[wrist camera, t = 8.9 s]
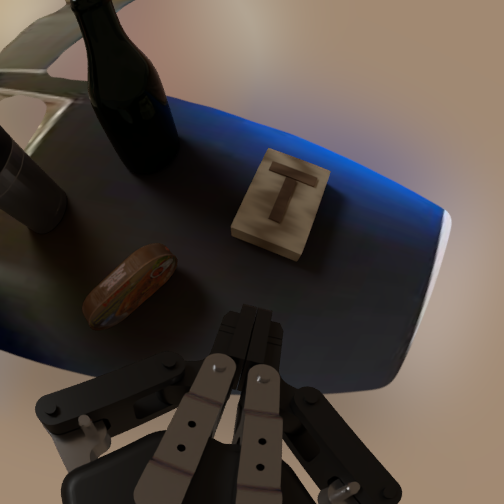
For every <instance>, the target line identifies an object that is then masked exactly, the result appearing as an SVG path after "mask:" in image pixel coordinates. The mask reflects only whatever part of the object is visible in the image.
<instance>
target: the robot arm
mask: <svg viewBox="0 0 504 504" xmlns="http://www.w3.org/2000/svg"><path fill="white" fill-rule="evenodd" d="M66 205H67V198H66V194H65V192H64V191H63V190H62V189H61V188H60V187H59V186H58V185H57V184H56V183H55V182H54V181H53V180H52V179H51V178H50V177H49V176H48V175H47V174H46V173H45V172H44V171H43V170H42V169H41V168H40V167H39V166H38V165H37V164H36V163H35V162H34V161H33V160H32V159H31V158H30V157H29V156H28V154H27V153H26V152H25V151H24V150H23V149H22V148H21V147H20V146H19V145H18V144H17V143H16V142H15V141H14V140H13V139H12V138H11V137H10V135H9V134H8V133H7V132H6V131H5V130H4V129H3V128H2V127H1V126H0V209H1V210H3V211H4V212H6V213H7V214H9V215H10V216H12V217H13V218H15V219H16V220H18V221H19V222H21V223H22V224H24V225H25V226H27V227H28V228H30V229H32V230H33V231H35V232H37V233H42V234H43V233H47V232H49V231H51V230H52V229H53V228H55V227H56V226H57V225H58V223H59V222H60V221H61V219H62V217H63V215H64V213H65V210H66ZM256 310H257V307H254V306H250V305H246V304H243V306H242V309H241V312H240V313H237V312H233V311H230V312H228V313H227V314H226V315H225V316H224V317H223V320H222V323H221V325H220V328H219V331H218V334H217V337H216V339H215V342H214V345H213V348H212V350H211V353H210V354H209V356H208V357H207V358H205V359H203V360H200V361H184V359H183V358H182V357H181V356H180V355H179V354H177V353H174V352H170V351H165V352H161V353H159V354H156V355H154V356H151V357H149V358H146V359H144V360H141V361H139V362H136V363H133V364H131V365H128V366H126V367H123V368H121V369H118V370H115V371H113V372H110V373H107V374H105V375H102V376H99V377H96V378H94V379H91V380H88V381H86V382H83V383H80V384H77V385H74V386H71V387H68V388H65V389H63V390H60V391H57V392H54V393H51V394H48V395H45V396H43V397H41V398H40V399H39V400H38V401H37V403H36V406H35V412H36V415H37V417H38V418H39V420H40V421H41V422H42V424H43V426H44V428H45V429H46V430H47V432H48V433H49V434H50V435H51V437H52V439H53V441H54V443H55V446H56V448H57V450H58V452H59V454H60V457H61V459H62V461H63V463H64V465H65V467H66V469H67V471H68V474H67V475H66V477H65V478H64V480H63V483H62V487H61V497H62V503H63V504H316V503H315V501H314V500H313V499H312V497H311V496H310V494H309V493H308V491H307V490H306V489H305V487H304V486H303V484H302V483H301V481H300V480H299V478H298V477H297V476H296V474H295V472H294V471H293V470H292V468H291V467H290V466H289V465H288V464H286V463H285V462H284V461H283V460H282V458H281V457H282V439H283V440H284V441H285V443H286V444H287V446H288V447H289V448H290V450H291V451H292V453H293V454H294V455H295V457H296V458H297V459H298V461H299V462H300V464H301V465H302V466H303V468H304V469H305V470H306V472H307V473H308V474H309V475H310V477H311V478H312V480H313V481H314V482H315V484H316V485H317V486H318V488H319V489H320V490H321V491H320V493H319V495H318V504H398V502H399V501H400V500H401V497H402V489H401V487H400V485H399V484H398V482H397V481H396V480H395V479H394V478H393V477H392V476H391V474H390V473H389V472H388V471H387V470H386V469H385V468H384V467H383V465H382V464H381V463H380V462H379V461H378V460H377V459H376V457H375V456H374V455H373V454H372V453H371V452H370V450H369V449H368V448H367V447H366V446H365V445H364V443H363V442H362V441H361V440H360V439H359V438H358V436H357V435H356V434H355V433H354V432H353V430H352V429H351V428H350V427H349V426H348V425H347V423H346V422H345V421H344V420H343V418H342V417H341V416H340V415H339V414H338V412H337V411H336V410H335V409H334V408H333V406H332V405H331V404H330V403H329V402H328V400H327V399H326V398H325V397H324V395H323V394H322V393H321V392H320V391H319V390H317V389H315V388H313V387H302V388H300V389H296V388H294V387H292V386H290V385H288V384H287V383H286V382H284V381H283V379H282V378H281V376H280V374H279V364H280V356H281V346H282V338H283V329H282V327H281V325H280V323H277V322H272V321H271V316H272V311H270V310H266V309H262V308H258V310H257V314H256ZM255 314H256V317H255ZM254 318H255V321H254ZM253 323H254V324H253ZM252 327H253V328H252ZM242 367H243V368H242ZM241 371H242V372H241ZM240 374H241V377H240ZM239 377H240V381H239ZM238 381H239V385H238V389H237V390H239V391H242V392H241V396H240V400H239V403H238V407H237V414H236V422H235V428H234V436H233V441H232V444H223V443H221V442H219V441H217V440H215V439H213V438H214V435H215V432H216V429H217V427H218V424H219V422H220V419H221V416H222V414H223V411H224V408H225V405H226V403H227V401H228V399H229V397H230V394H231V391H232V389H234V390H236V387H237V384H238ZM177 407H178V408H177ZM175 408H177V410H176V412H175V415H174V416H173V418H172V420H171V422H170V424H169V426H168V428H167V430H163V431H158V432H154V433H151V434H148V435H146V436H144V437H142V438H140V439H138V440H136V441H135V442H132V443H130V444H128V445H126V446H124V447H122V448H120V449H118V450H116V451H113V452H111V453H109V454H107V455H105V456H103V457H100V458H98V457H99V456H100V455H101V454H103V453H104V452H106V451H107V450H108V449H109V448H110V445H111V437H114V436H116V435H118V434H121V433H123V432H125V431H128V430H130V429H132V428H135V427H137V426H139V425H141V424H143V423H146V422H148V421H150V420H152V419H154V418H156V417H159V416H161V415H163V414H165V413H167V412H169V411H171V410H173V409H175Z"/></svg>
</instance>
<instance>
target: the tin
mask: <svg viewBox="0 0 504 504" xmlns="http://www.w3.org/2000/svg"><path fill="white" fill-rule="evenodd" d="M176 267H177V258H176V257H175V256H174V255H173V254H172V253H171V252H170V250H169V249H168V248H167V247H166V246H165V245H163V244H160V243H153V244H149V245H146V246H144V247H142V248H140V249H138V250H137V251H135V252H134V253H132V254H131V255H130V256H129V257H128V258H127V259H126V260H124V261H123V262H122V263H121V264H120V265H119V266H118V267H117V268H115V269H114V270H113V271H112V272H111V273H110V274H109V275H108V276H107V277H106V278H105V279H104V280H103V281H101V282H100V283H99V284H98V285H97V286H96V287H95V288H94V289H93V290H92V291H91V292H90V293H89V294H88V296H87V297H86V298H85V300H84V302H83V305H82V311H83V314H84V316H85V318H86V320H87V321H88V323H89V326H90V328H91V329H93V330H104V329H107V328H110V327H112V326H114V325H116V324H118V323H120V322H121V321H122V320H124V319H125V318H126V317H127V316H129V315H130V314H131V313H132V312H133V311H134V310H135V309H136V308H137V307H139V306H140V305H141V304H142V303H143V302H144V301H145V300H146V299H148V298H149V297H150V296H151V295H152V294H153V293H154V292H156V291H157V290H158V289H159V288H160V287H161V286H162V285H164V284H165V283H166V282H167V281H168V279H169V278H170V277H171V276H172V274H173V273H174V271H175V269H176Z"/></svg>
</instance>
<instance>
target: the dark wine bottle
mask: <svg viewBox="0 0 504 504" xmlns="http://www.w3.org/2000/svg"><path fill="white" fill-rule="evenodd" d="M70 7H71V10H72V12H74V14H75V16H76V19H77V22H78V24H79V27H80V30H81V33H82V36H83V39H84V42H85V47H86V50H87V59H88V93H89V97H90V101H91V105H92V107H93V109H94V112H95V114H96V116H97V118H98V120H99V122H100V124H101V126H102V128H103V129H104V131H105V133H106V135H107V137H108V139H109V140H110V142H111V144H112V146H113V147H114V149H115V151H116V153H117V154H118V156H119V158H120V159H121V161H122V162H123V164H124V165H125V166H126V168H127V169H128V170H130V171H131V172H133V173H136V174H144V175H147V174H153V173H156V172H158V171H160V170H162V169H164V168H165V167H167V166H168V165H169V164H170V163H171V162H172V161H173V160H174V158H175V157H176V155H177V153H178V151H179V147H180V141H179V137H178V133H177V129H176V126H175V123H174V120H173V117H172V113H171V110H170V107H169V104H168V101H167V98H166V95H165V92H164V88H163V86H162V83H161V80H160V78H159V75H158V72H157V71H156V69H155V67H154V66H153V64H152V62H151V61H150V60H149V59H148V58H147V56H145V54H144V53H143V52H142V51H141V50H140V49H138V47H136V45H135V44H134V43H133V42H132V41H131V40H130V39H129V37H128V36H127V35H126V33H125V32H124V30H123V28H122V26H121V24H120V22H119V19H118V17H117V14H116V12H115V9H114V6H113V3H112V0H70Z"/></svg>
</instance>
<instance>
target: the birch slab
mask: <svg viewBox="0 0 504 504" xmlns="http://www.w3.org/2000/svg"><path fill="white" fill-rule="evenodd" d="M330 172H331V171H329V170H326V169H324V168H321V167H319V166H316V165H314V164H311V163H308V162H306V161H303V160H301V159H298V158H295V157H292V156H290V155H287V154H284V153H281V152H279V151H276V150H273V149H270V148H268V150H267V152H266V154H265V156H264V158H263V160H262V162H261V164H260V166H259V168H258V170H257V172H256V174H255V176H254V178H253V181H252V183H251V185H250V187H249V189H248V191H247V193H246V195H245V197H244V199H243V201H242V204H241V206H240V208H239V210H238V212H237V214H236V216H235V218H234V221H233V223H232V225H231V234H232V236H233V237H236V238H238V239H241V240H243V241H246V242H249V243H251V244H254V245H256V246H259V247H261V248H264V249H266V250H269V251H271V252H274V253H276V254H279V255H281V256H284V257H286V258H289V259H291V260H294V261H296V262H297V261H298V259H299V258H300V256H301V255H302V252H303V249H304V246H305V244H306V241H307V238H308V235H309V233H310V230H311V227H312V224H313V221H314V218H315V216H316V213H317V210H318V207H319V204H320V201H321V198H322V195H323V193H324V190H325V187H326V184H327V181H328V178H329V175H330Z"/></svg>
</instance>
